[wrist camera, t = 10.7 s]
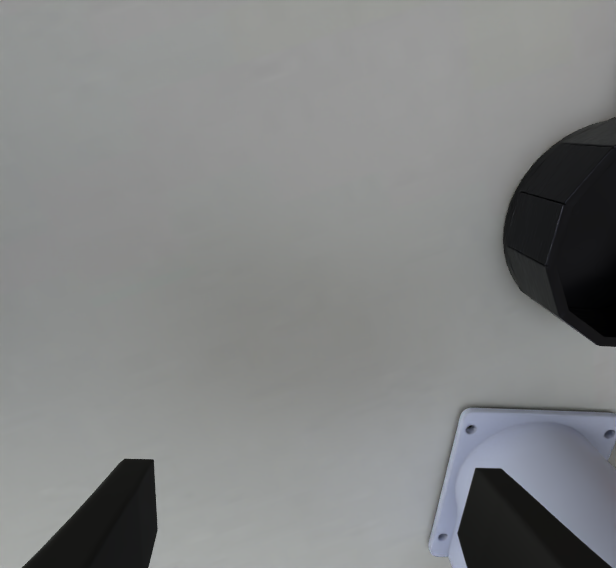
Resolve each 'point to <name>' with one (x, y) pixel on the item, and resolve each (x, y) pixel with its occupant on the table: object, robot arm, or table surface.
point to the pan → (569, 232)
